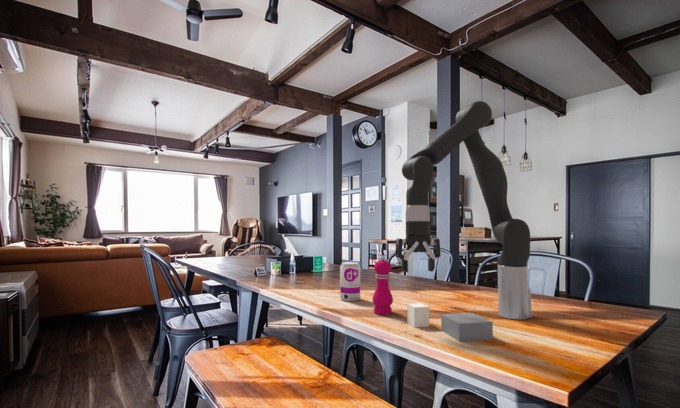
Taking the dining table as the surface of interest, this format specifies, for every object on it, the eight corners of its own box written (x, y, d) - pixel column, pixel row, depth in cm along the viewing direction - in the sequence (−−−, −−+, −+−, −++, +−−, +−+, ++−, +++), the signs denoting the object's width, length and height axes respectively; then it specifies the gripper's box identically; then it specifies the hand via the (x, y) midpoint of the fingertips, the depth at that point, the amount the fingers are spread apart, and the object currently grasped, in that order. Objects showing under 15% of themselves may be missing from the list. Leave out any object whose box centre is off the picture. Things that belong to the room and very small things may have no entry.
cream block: (422, 322, 111) (421, 303, 111) (429, 326, 106) (429, 306, 106) (407, 322, 110) (407, 303, 110) (414, 327, 105) (414, 307, 105)
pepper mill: (392, 315, 118) (392, 256, 119) (371, 314, 119) (371, 256, 121) (393, 310, 125) (393, 254, 126) (373, 309, 126) (373, 254, 128)
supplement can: (360, 301, 139) (360, 264, 140) (340, 301, 139) (340, 264, 140) (359, 297, 147) (359, 261, 148) (340, 297, 147) (340, 261, 148)
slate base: (472, 329, 104) (471, 312, 104) (492, 340, 94) (492, 321, 95) (441, 331, 102) (441, 314, 102) (459, 342, 92) (459, 323, 93)
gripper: (432, 220, 115) (433, 269, 114) (392, 220, 112) (392, 270, 111) (444, 220, 107) (444, 272, 106) (401, 219, 104) (401, 274, 103)
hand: (418, 271), depth 108 cm, fingers open, 8 cm apart
